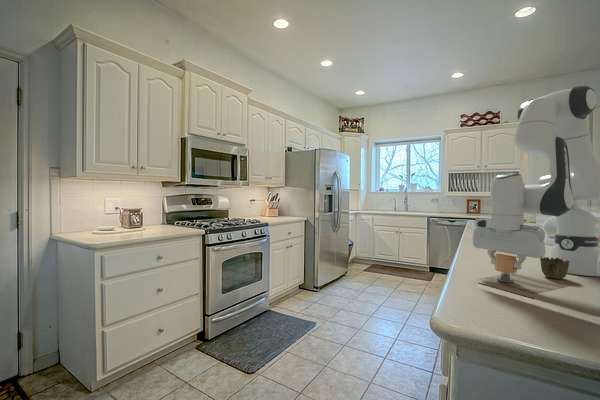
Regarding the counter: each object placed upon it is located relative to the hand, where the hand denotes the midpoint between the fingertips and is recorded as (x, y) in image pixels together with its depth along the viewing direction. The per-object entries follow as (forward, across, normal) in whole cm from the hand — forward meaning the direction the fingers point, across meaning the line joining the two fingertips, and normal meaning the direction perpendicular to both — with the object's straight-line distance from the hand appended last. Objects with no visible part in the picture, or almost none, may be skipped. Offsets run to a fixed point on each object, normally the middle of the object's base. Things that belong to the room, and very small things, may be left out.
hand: (505, 266), depth 92 cm
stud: (+5, 0, 0) cm, 5 cm away
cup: (+6, -4, -20) cm, 21 cm away
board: (+6, -3, -4) cm, 8 cm away
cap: (+1, 0, 0) cm, 1 cm away
